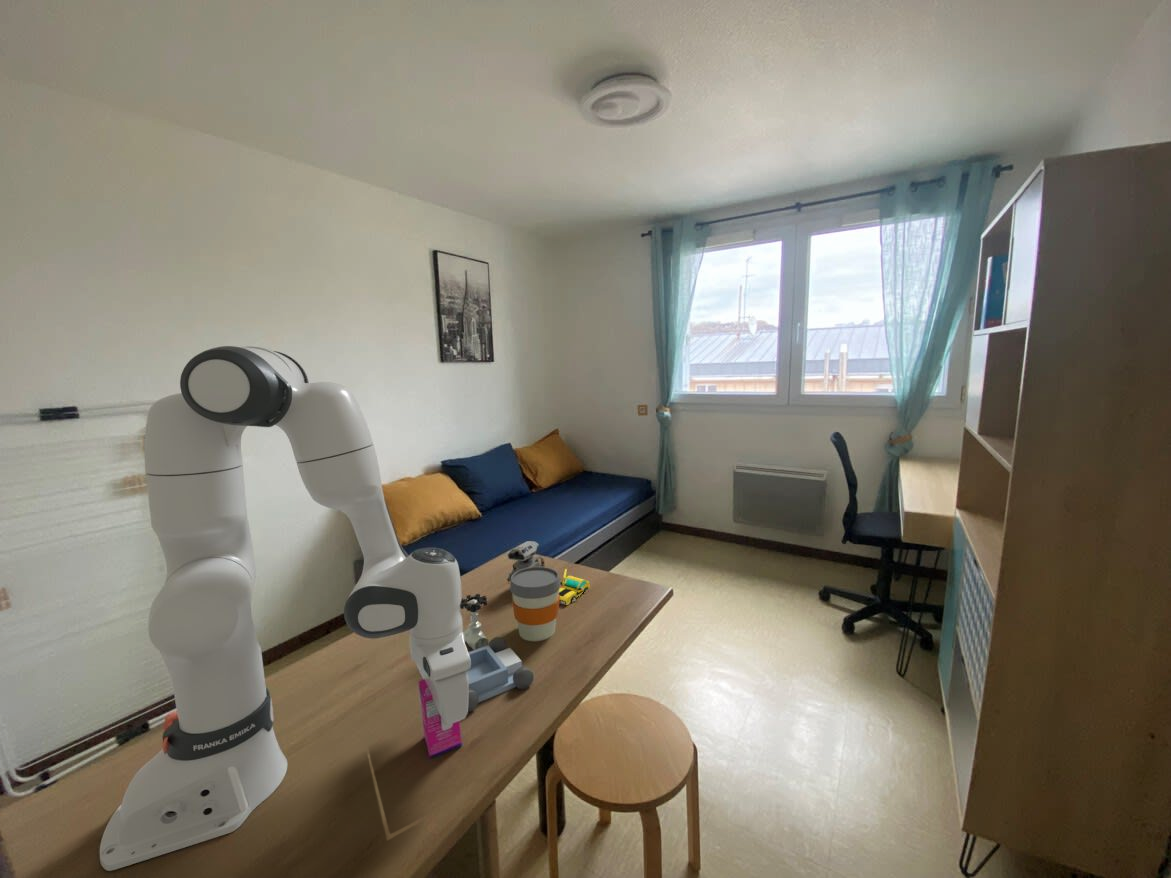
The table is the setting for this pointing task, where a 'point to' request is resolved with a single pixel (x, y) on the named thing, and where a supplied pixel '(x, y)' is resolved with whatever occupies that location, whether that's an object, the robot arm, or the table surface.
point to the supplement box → (436, 725)
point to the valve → (474, 622)
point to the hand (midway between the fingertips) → (440, 713)
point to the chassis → (495, 672)
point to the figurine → (524, 557)
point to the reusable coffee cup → (535, 601)
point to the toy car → (572, 588)
